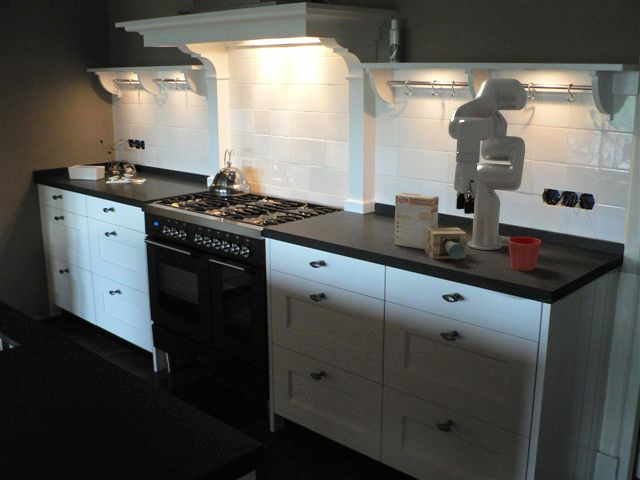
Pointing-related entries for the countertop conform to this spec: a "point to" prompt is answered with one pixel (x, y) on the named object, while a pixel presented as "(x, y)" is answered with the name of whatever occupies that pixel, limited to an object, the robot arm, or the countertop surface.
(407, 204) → the coffeecake box
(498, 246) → the robot arm
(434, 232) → the block
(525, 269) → the flower pot
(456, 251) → the peg
